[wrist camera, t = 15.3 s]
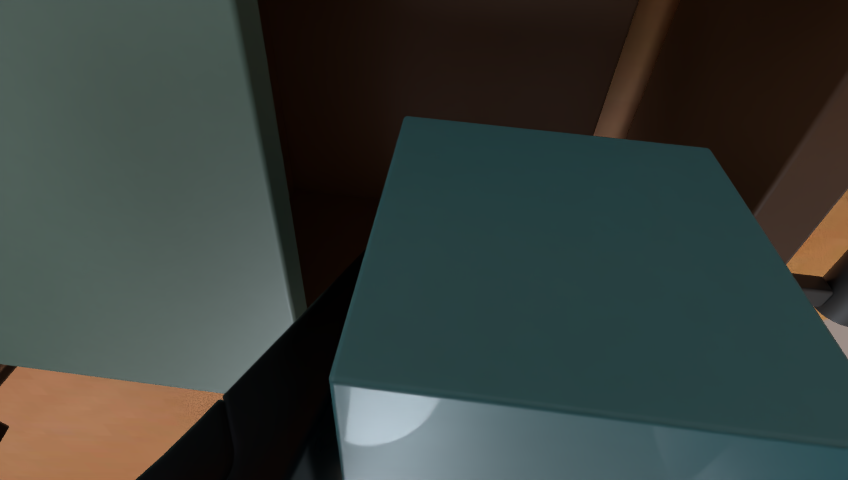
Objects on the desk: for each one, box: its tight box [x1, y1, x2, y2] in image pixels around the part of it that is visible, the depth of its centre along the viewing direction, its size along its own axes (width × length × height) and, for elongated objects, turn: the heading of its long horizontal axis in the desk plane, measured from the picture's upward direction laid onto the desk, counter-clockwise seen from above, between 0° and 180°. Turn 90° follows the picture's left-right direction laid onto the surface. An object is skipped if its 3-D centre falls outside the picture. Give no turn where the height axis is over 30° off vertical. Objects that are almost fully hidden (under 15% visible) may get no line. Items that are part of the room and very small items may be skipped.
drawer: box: [257, 0, 848, 327], centre depth 11 cm, size 17×11×7 cm, turn 86°
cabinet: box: [0, 0, 307, 394], centre depth 12 cm, size 14×13×9 cm
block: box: [329, 116, 848, 480], centre depth 7 cm, size 5×5×5 cm
